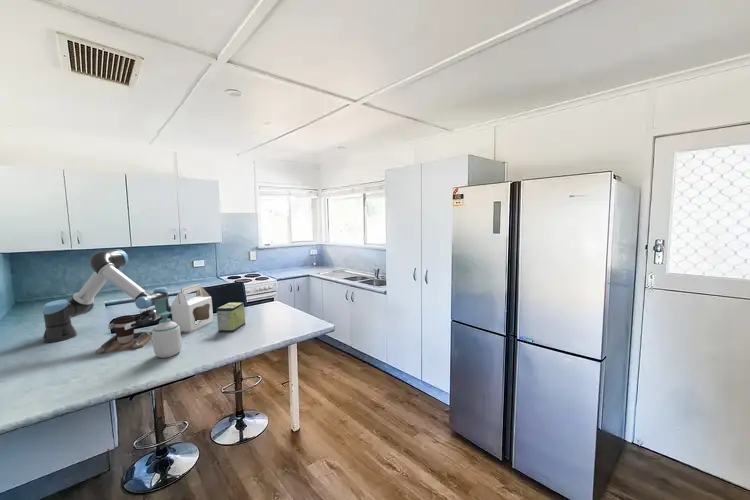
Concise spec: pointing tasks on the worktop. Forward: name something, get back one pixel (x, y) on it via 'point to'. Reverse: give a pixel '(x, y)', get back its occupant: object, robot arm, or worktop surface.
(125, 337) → the coffee cup
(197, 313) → the gable box
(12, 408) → the worktop surface
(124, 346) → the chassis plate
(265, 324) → the worktop surface
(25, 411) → the worktop surface
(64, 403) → the worktop surface
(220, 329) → the protein box
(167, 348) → the soap bottle
